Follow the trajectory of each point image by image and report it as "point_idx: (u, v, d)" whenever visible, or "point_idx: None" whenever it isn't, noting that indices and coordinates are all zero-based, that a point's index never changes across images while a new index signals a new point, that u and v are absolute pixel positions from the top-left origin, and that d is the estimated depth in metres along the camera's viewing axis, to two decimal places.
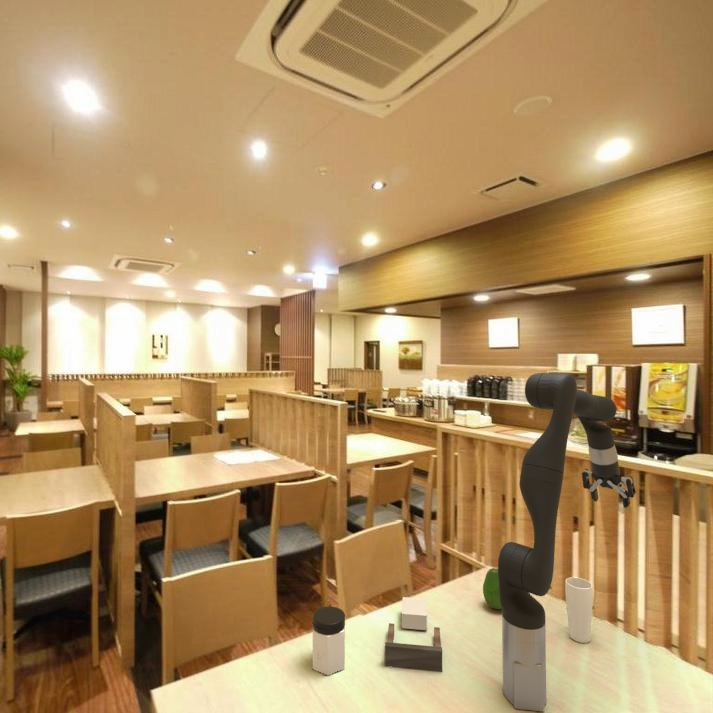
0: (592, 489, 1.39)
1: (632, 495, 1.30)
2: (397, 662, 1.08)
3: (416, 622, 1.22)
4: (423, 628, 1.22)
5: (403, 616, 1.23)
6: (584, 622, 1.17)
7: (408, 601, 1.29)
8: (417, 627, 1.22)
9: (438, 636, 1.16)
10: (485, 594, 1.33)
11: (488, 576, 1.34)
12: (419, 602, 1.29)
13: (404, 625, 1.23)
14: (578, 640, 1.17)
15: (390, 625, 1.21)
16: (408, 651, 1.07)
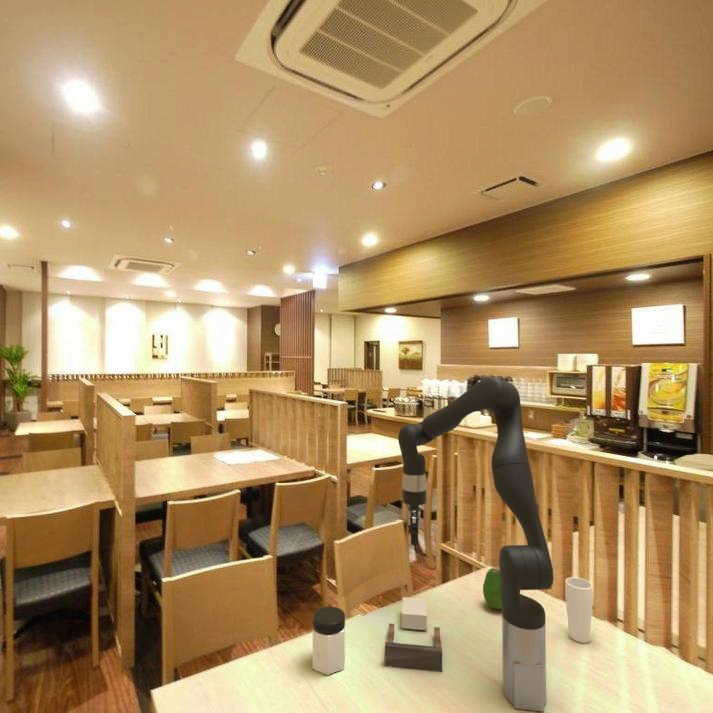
0: None
1: None
2: (397, 662, 1.08)
3: (416, 622, 1.22)
4: (423, 628, 1.22)
5: (403, 616, 1.23)
6: (584, 622, 1.17)
7: (408, 601, 1.29)
8: (417, 627, 1.22)
9: (438, 636, 1.16)
10: (485, 594, 1.33)
11: (488, 576, 1.34)
12: (419, 602, 1.29)
13: (404, 625, 1.23)
14: (578, 640, 1.17)
15: (390, 625, 1.21)
16: (408, 651, 1.07)
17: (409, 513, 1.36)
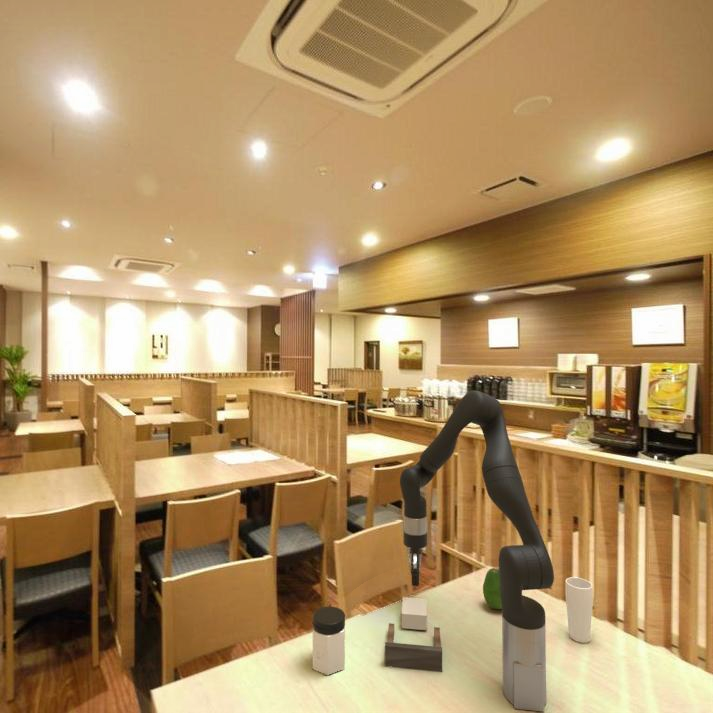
0: (419, 570, 1.36)
1: None
2: (397, 662, 1.08)
3: (416, 622, 1.22)
4: (423, 628, 1.22)
5: (403, 616, 1.23)
6: (584, 622, 1.17)
7: (408, 601, 1.29)
8: (417, 627, 1.22)
9: (438, 636, 1.16)
10: (485, 594, 1.33)
11: (488, 576, 1.34)
12: (419, 602, 1.29)
13: (404, 625, 1.23)
14: (578, 640, 1.17)
15: (390, 625, 1.21)
16: (408, 651, 1.07)
17: (410, 556, 1.36)
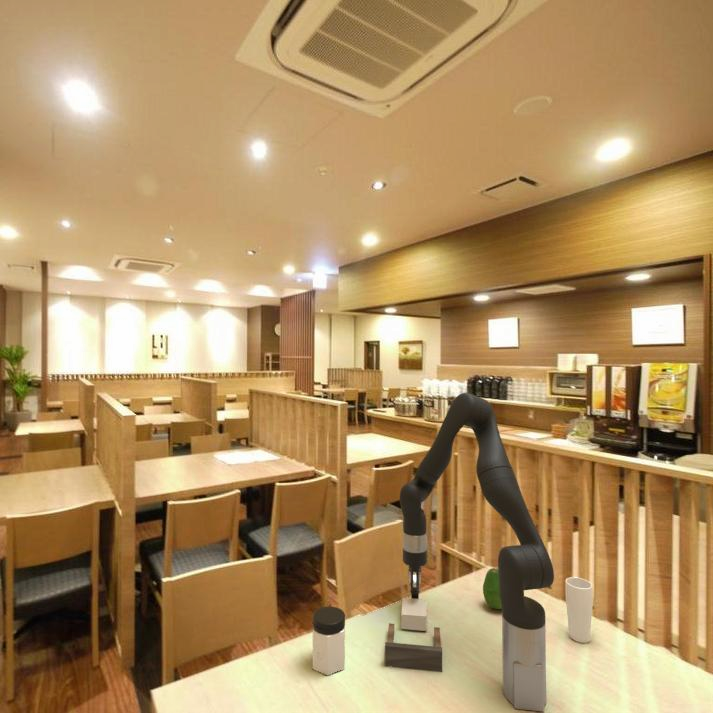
0: None
1: None
2: (397, 662, 1.08)
3: (416, 623, 1.22)
4: (423, 629, 1.22)
5: (403, 617, 1.23)
6: (584, 622, 1.17)
7: (408, 602, 1.29)
8: (417, 628, 1.22)
9: (438, 636, 1.16)
10: (485, 594, 1.33)
11: (488, 576, 1.34)
12: (419, 603, 1.29)
13: (403, 626, 1.22)
14: (578, 640, 1.17)
15: (390, 625, 1.21)
16: (408, 651, 1.07)
17: (409, 574, 1.32)
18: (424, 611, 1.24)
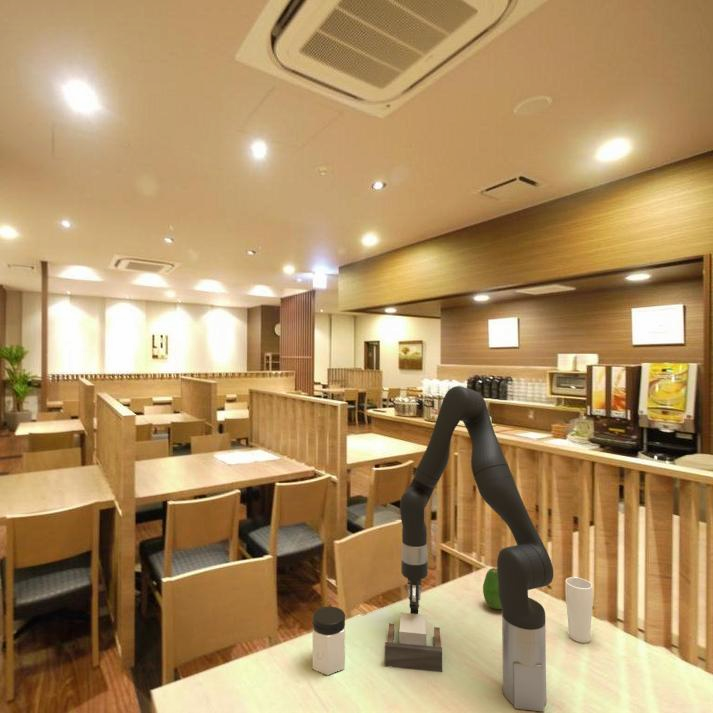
0: None
1: None
2: (397, 662, 1.08)
3: (415, 641, 1.14)
4: None
5: (401, 634, 1.15)
6: (584, 622, 1.17)
7: (406, 617, 1.21)
8: None
9: (438, 636, 1.16)
10: (485, 594, 1.33)
11: (488, 576, 1.34)
12: (418, 618, 1.21)
13: None
14: (578, 640, 1.17)
15: (390, 625, 1.21)
16: (408, 651, 1.07)
17: (408, 587, 1.24)
18: (423, 628, 1.16)
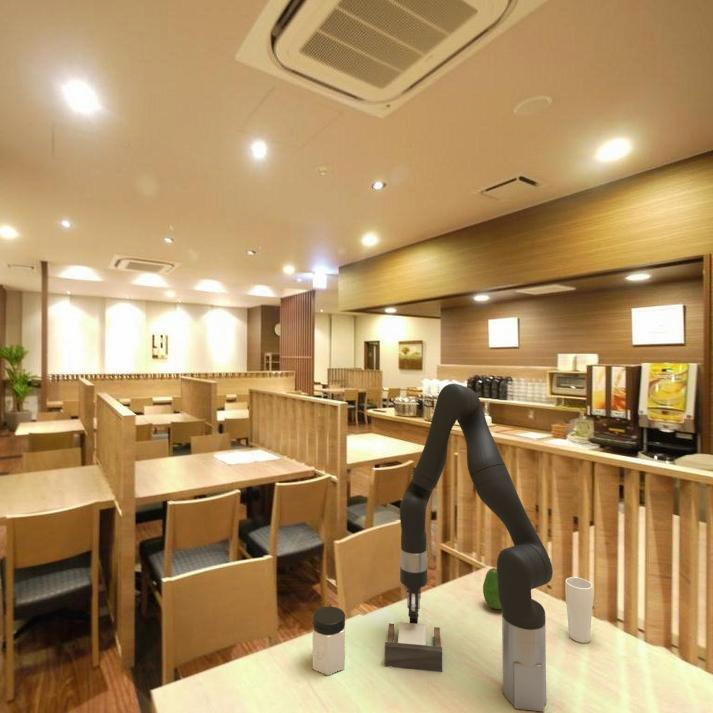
0: None
1: None
2: (397, 662, 1.08)
3: None
4: None
5: None
6: (584, 622, 1.17)
7: (405, 627, 1.16)
8: None
9: (438, 636, 1.16)
10: (485, 594, 1.33)
11: (488, 576, 1.34)
12: (418, 628, 1.16)
13: None
14: (578, 640, 1.17)
15: (390, 625, 1.21)
16: (408, 651, 1.07)
17: (407, 596, 1.19)
18: (423, 639, 1.11)
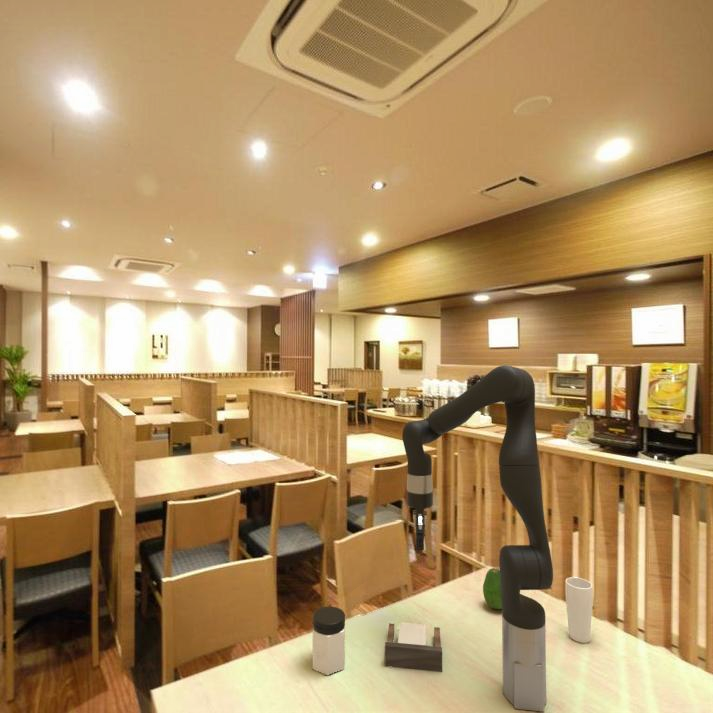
0: None
1: None
2: (397, 662, 1.08)
3: None
4: None
5: None
6: (584, 622, 1.17)
7: (405, 627, 1.16)
8: None
9: (438, 636, 1.16)
10: (485, 594, 1.33)
11: (488, 576, 1.34)
12: (418, 628, 1.16)
13: None
14: (578, 640, 1.17)
15: (390, 625, 1.21)
16: (408, 651, 1.07)
17: (414, 517, 1.25)
18: (423, 639, 1.11)
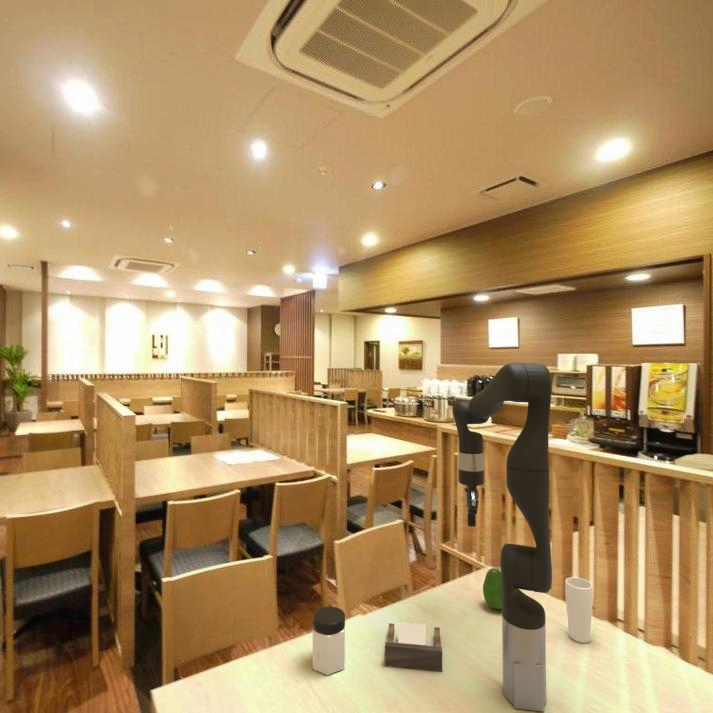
0: None
1: None
2: (397, 662, 1.08)
3: None
4: None
5: None
6: (584, 622, 1.17)
7: (405, 627, 1.16)
8: None
9: (438, 636, 1.16)
10: (485, 594, 1.33)
11: (488, 576, 1.34)
12: (418, 628, 1.16)
13: None
14: (578, 640, 1.17)
15: (390, 625, 1.21)
16: (408, 651, 1.07)
17: (466, 495, 1.29)
18: (423, 639, 1.11)
